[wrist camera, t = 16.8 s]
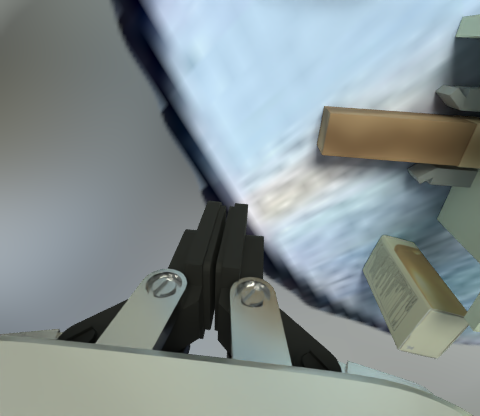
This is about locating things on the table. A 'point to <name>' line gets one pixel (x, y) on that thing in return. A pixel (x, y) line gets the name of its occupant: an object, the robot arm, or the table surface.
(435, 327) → the skincare box
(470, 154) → the walnut batten
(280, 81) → the table surface
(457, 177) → the shelter
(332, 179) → the table surface
